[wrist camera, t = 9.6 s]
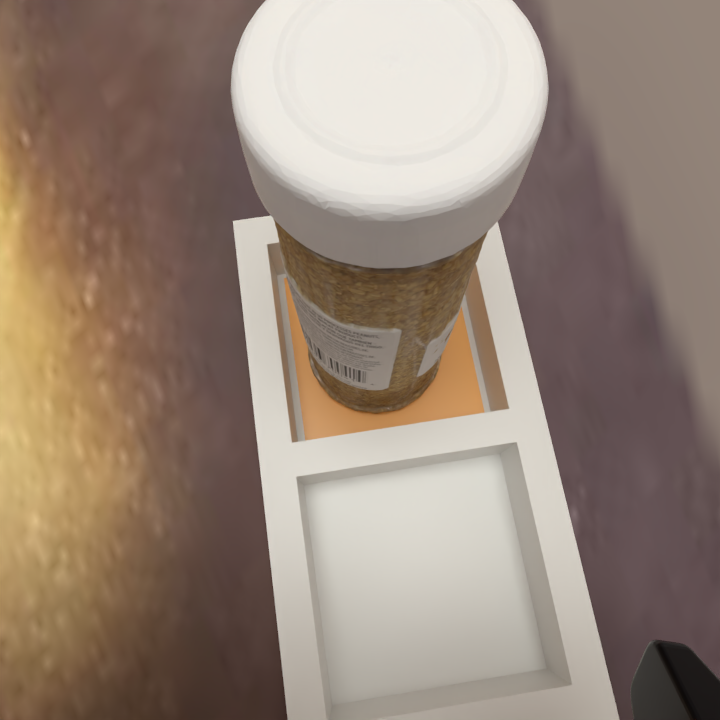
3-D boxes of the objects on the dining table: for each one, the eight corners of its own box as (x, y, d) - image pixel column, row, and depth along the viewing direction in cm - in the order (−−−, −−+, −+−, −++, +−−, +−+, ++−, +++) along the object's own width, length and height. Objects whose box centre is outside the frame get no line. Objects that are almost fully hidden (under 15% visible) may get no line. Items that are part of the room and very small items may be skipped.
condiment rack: (651, 999, 17) (710, 1090, 14) (341, 1059, 17) (336, 1165, 14) (471, 219, 24) (485, 174, 21) (248, 251, 24) (231, 210, 21)
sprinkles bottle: (465, 372, 21) (626, 109, 8) (349, 441, 21) (330, 272, 8) (394, 266, 22) (438, -112, 10) (281, 328, 22) (166, 15, 9)
